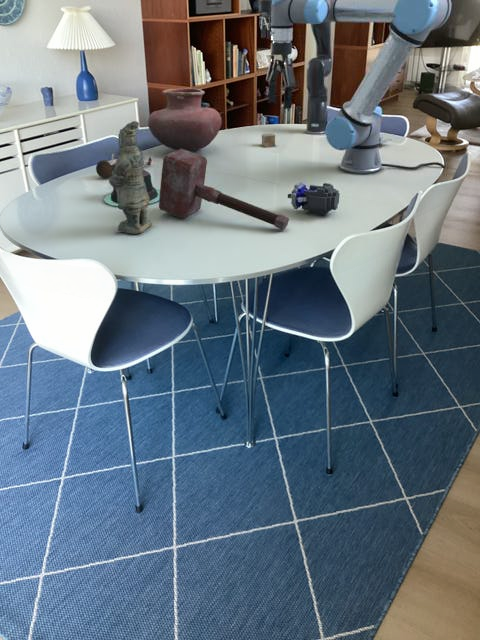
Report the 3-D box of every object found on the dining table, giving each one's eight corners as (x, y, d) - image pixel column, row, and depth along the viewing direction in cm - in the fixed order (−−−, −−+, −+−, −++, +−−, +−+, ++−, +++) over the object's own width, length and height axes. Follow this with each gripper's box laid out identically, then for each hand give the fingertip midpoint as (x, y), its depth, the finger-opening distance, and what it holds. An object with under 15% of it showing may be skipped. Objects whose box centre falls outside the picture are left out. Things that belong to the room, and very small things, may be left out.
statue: (131, 220, 168) (117, 116, 152) (158, 224, 164) (147, 118, 149) (109, 233, 159) (93, 124, 144) (138, 237, 156) (124, 126, 140)
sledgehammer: (299, 190, 156) (179, 147, 167) (285, 200, 148) (161, 154, 160) (286, 244, 166) (174, 200, 177) (272, 256, 158) (156, 209, 170)
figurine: (158, 154, 218) (111, 160, 199) (158, 173, 221) (112, 181, 202) (133, 150, 225) (86, 155, 206) (134, 169, 228) (87, 176, 209)
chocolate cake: (91, 202, 180) (113, 186, 197) (142, 231, 182) (160, 212, 199) (107, 162, 172) (129, 148, 190) (160, 192, 174) (177, 176, 192)
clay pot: (228, 143, 251) (226, 84, 239) (213, 161, 226) (210, 95, 213) (163, 142, 256) (158, 84, 243) (142, 159, 231) (135, 95, 218)
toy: (295, 178, 172) (342, 184, 166) (295, 205, 177) (340, 211, 171) (285, 186, 166) (333, 192, 160) (284, 213, 170) (331, 220, 164)
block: (271, 144, 250) (271, 133, 247) (275, 146, 246) (275, 135, 244) (261, 145, 249) (261, 134, 246) (265, 147, 245) (265, 136, 243)
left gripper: (254, 0, 267) (254, 37, 275) (264, 0, 255) (264, 39, 263) (268, -1, 269) (268, 37, 277) (279, -1, 257) (279, 38, 265)
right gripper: (257, 39, 204) (257, 100, 215) (287, 45, 185) (285, 112, 195) (276, 38, 207) (274, 99, 218) (307, 44, 187) (304, 110, 198)
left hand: (266, 38), depth 270 cm, fingers open, 8 cm apart
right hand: (279, 105), depth 207 cm, fingers open, 13 cm apart
